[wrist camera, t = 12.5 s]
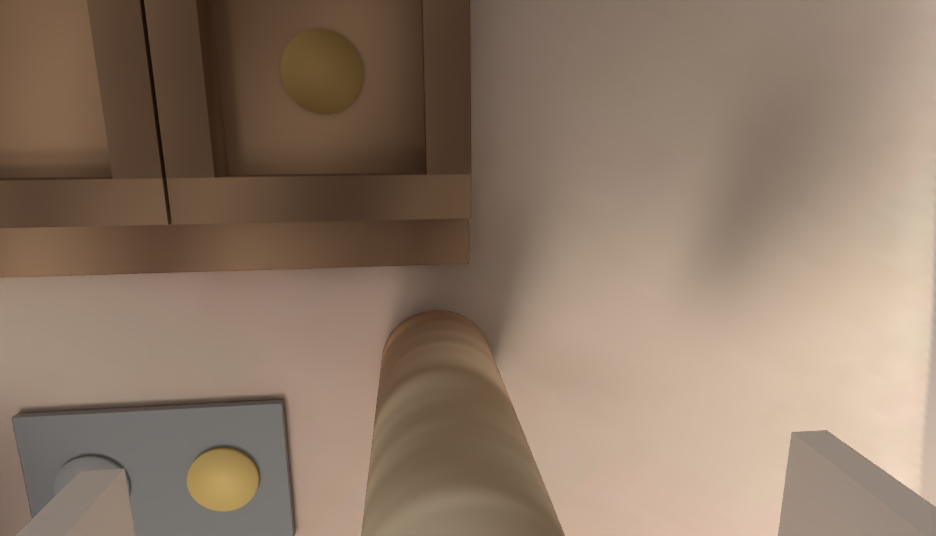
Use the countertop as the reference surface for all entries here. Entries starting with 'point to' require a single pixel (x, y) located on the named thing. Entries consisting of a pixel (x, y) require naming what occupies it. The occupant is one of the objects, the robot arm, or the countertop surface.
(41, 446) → the key tile
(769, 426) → the countertop surface
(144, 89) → the board
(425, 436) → the peg
